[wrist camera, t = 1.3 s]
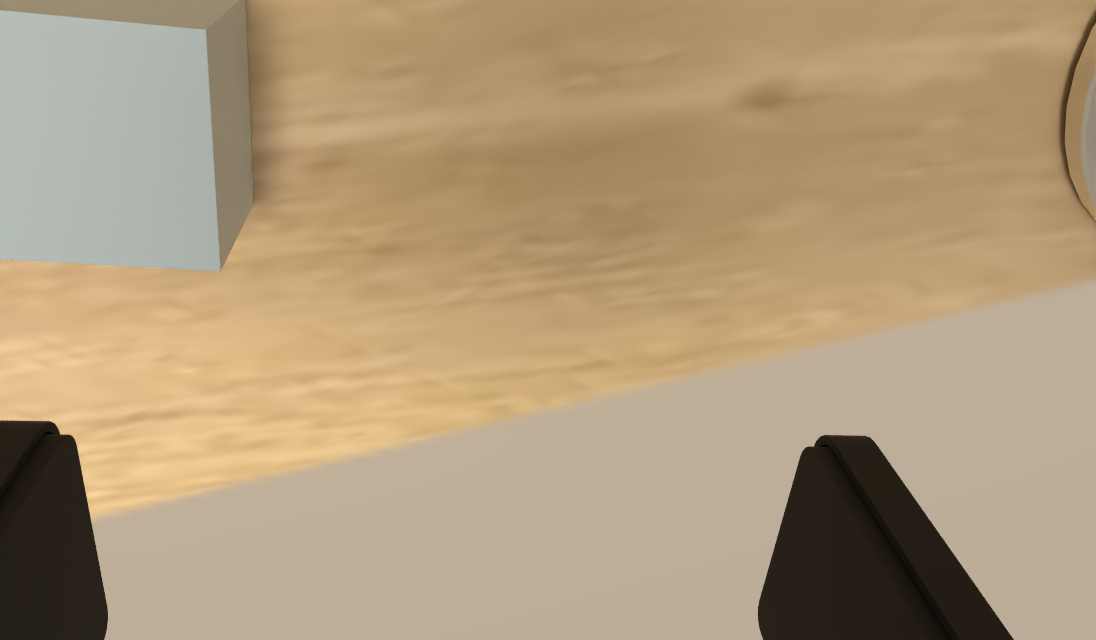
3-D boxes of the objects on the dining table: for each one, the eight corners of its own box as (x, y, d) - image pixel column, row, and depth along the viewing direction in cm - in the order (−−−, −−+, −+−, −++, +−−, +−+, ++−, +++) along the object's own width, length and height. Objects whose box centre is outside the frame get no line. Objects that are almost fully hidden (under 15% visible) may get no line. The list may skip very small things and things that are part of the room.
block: (246, -7, 24) (206, 29, 20) (254, 200, 27) (220, 271, 23) (-75, -40, 23) (-193, -9, 19) (-32, 181, 26) (-126, 252, 22)
